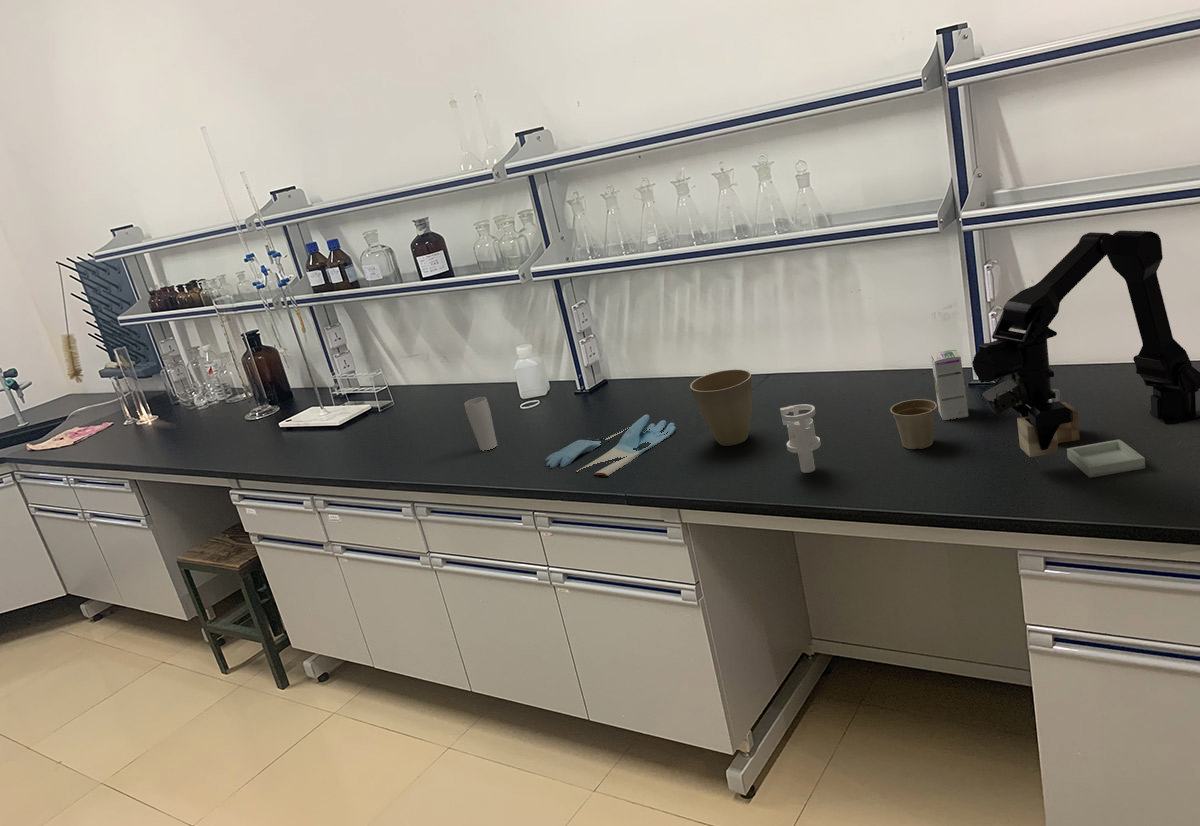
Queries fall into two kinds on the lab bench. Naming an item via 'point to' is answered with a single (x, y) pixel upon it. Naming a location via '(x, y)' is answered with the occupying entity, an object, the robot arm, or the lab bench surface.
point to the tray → (1105, 458)
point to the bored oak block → (1069, 428)
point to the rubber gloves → (622, 449)
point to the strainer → (801, 434)
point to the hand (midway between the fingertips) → (1038, 444)
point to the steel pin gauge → (1056, 396)
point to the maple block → (1033, 439)
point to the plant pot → (725, 404)
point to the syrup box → (949, 385)
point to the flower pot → (915, 422)
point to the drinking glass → (481, 422)
